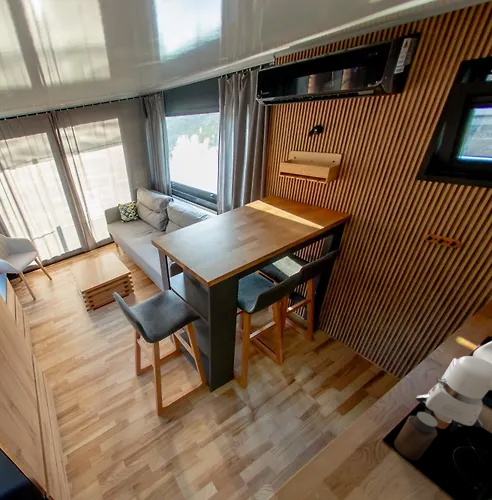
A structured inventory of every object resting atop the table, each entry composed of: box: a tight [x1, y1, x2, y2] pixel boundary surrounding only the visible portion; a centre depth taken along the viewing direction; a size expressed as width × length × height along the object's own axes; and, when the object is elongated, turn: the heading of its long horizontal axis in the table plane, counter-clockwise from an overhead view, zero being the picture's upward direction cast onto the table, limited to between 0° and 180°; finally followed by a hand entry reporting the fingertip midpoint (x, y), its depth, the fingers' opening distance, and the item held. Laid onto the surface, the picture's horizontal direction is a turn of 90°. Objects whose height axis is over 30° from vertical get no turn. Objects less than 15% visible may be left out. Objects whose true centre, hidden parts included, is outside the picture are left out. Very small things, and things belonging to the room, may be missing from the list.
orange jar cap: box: [433, 412, 452, 430], centre depth 86 cm, size 4×4×4 cm
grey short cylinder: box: [413, 411, 438, 434], centre depth 74 cm, size 4×4×4 cm
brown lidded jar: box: [393, 415, 438, 461], centre depth 79 cm, size 6×6×14 cm
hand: (438, 422), depth 86 cm, fingers open, 4 cm apart
